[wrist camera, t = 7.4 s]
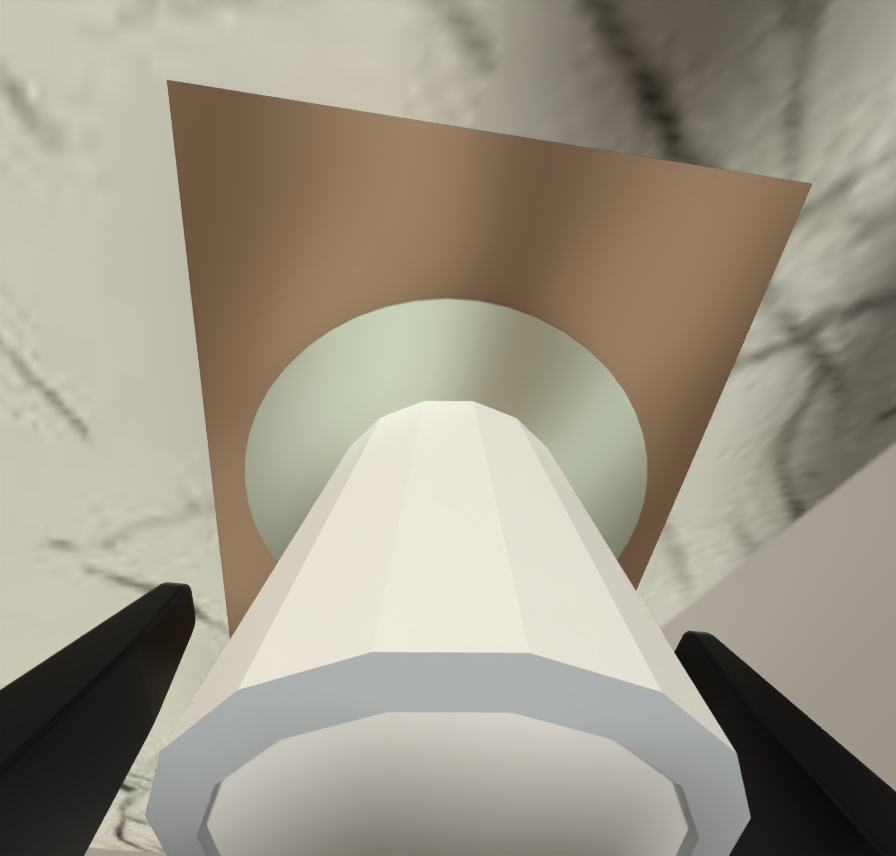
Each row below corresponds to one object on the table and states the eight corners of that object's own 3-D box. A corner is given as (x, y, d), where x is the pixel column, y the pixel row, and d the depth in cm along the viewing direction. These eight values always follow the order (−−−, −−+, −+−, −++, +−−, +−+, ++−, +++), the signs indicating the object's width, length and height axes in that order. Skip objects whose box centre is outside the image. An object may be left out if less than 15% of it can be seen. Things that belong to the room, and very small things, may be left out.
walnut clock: (696, 189, 13) (828, 182, 8) (558, 600, 20) (590, 714, 15) (260, 120, 12) (153, 74, 8) (278, 573, 19) (228, 685, 15)
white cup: (627, 404, 10) (903, 719, 4) (539, 616, 13) (620, 986, 7) (322, 345, 10) (93, 606, 3) (302, 581, 13) (160, 949, 6)
